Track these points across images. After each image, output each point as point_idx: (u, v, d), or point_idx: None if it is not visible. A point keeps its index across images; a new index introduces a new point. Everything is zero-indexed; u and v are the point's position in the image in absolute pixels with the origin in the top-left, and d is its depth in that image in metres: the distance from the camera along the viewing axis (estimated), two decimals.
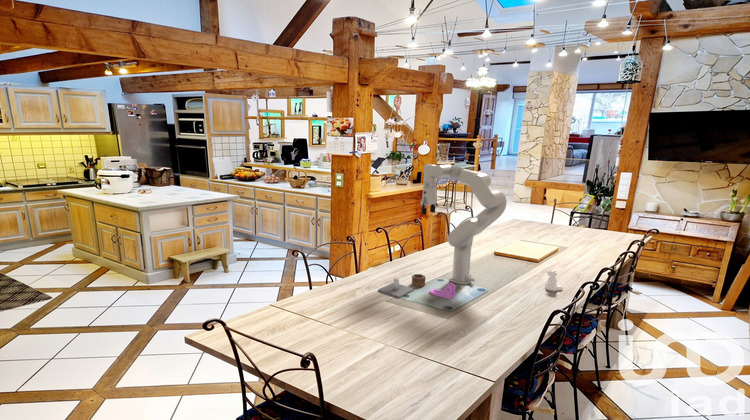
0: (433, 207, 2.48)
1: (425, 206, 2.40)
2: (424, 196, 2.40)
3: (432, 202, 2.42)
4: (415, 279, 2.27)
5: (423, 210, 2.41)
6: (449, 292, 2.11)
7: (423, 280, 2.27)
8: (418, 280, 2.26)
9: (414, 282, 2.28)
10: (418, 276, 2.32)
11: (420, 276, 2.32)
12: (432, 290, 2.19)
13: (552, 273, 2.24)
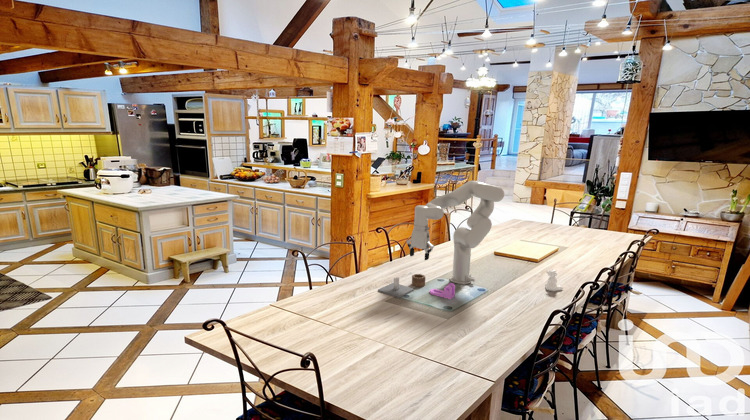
0: (413, 250, 2.30)
1: None
2: (427, 240, 2.22)
3: None
4: (415, 279, 2.27)
5: (428, 255, 2.24)
6: (449, 292, 2.11)
7: (423, 280, 2.27)
8: (418, 280, 2.26)
9: (414, 282, 2.28)
10: (418, 276, 2.32)
11: (420, 276, 2.32)
12: (432, 290, 2.19)
13: (552, 273, 2.24)
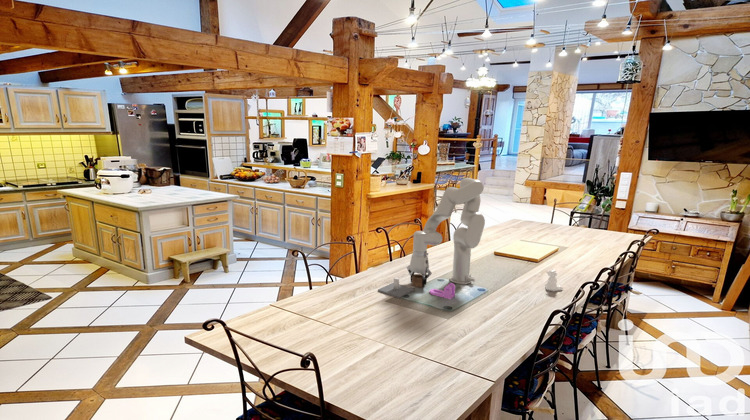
0: None
1: None
2: (426, 266, 2.25)
3: None
4: (415, 279, 2.27)
5: (425, 281, 2.27)
6: (449, 292, 2.11)
7: None
8: (418, 280, 2.26)
9: (414, 282, 2.28)
10: (418, 276, 2.32)
11: (420, 276, 2.32)
12: (432, 290, 2.19)
13: (552, 273, 2.24)
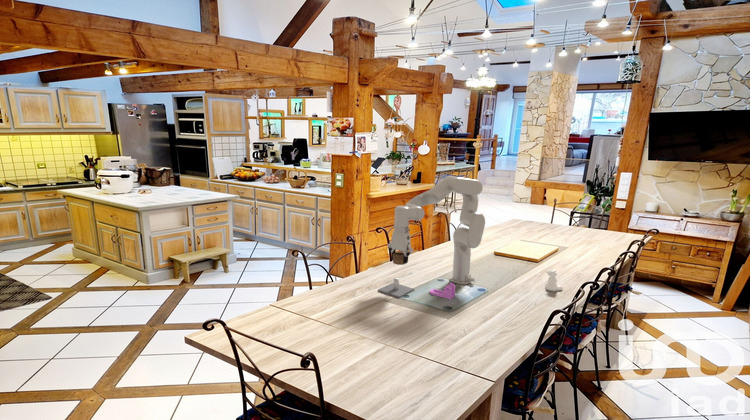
0: None
1: None
2: (408, 243, 2.14)
3: None
4: (396, 256, 2.15)
5: (407, 258, 2.15)
6: (449, 292, 2.11)
7: None
8: (399, 258, 2.15)
9: (395, 260, 2.16)
10: (399, 254, 2.21)
11: (402, 254, 2.20)
12: (432, 290, 2.19)
13: (552, 273, 2.24)
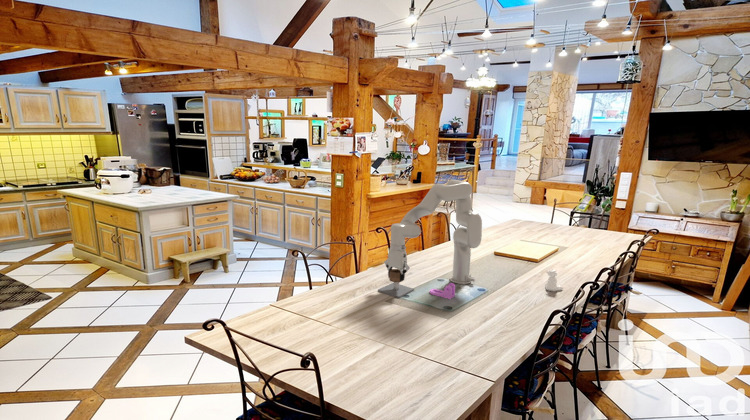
0: None
1: None
2: (404, 261, 2.14)
3: None
4: (392, 274, 2.16)
5: (403, 276, 2.16)
6: (449, 292, 2.11)
7: None
8: (395, 275, 2.15)
9: (391, 277, 2.17)
10: (396, 271, 2.21)
11: (398, 271, 2.21)
12: (432, 290, 2.19)
13: (552, 273, 2.24)
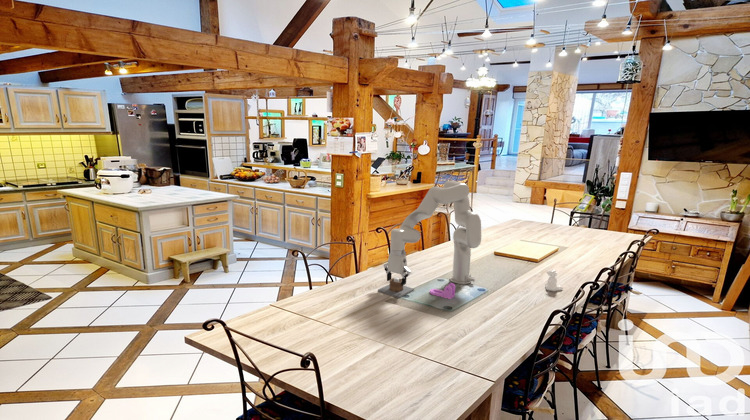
0: (390, 274, 2.23)
1: None
2: (404, 265, 2.15)
3: None
4: (392, 283, 2.17)
5: (405, 280, 2.16)
6: (449, 292, 2.11)
7: (401, 284, 2.17)
8: (395, 285, 2.16)
9: (391, 287, 2.18)
10: None
11: None
12: (432, 290, 2.19)
13: (552, 273, 2.24)
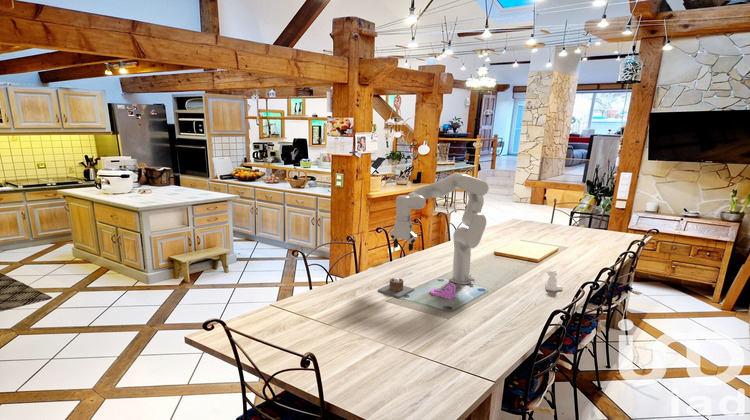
0: (397, 241, 2.26)
1: None
2: (410, 231, 2.18)
3: None
4: (392, 283, 2.17)
5: (412, 245, 2.20)
6: (449, 292, 2.11)
7: (401, 284, 2.17)
8: (395, 285, 2.16)
9: (391, 287, 2.18)
10: None
11: None
12: (432, 290, 2.19)
13: (552, 273, 2.24)
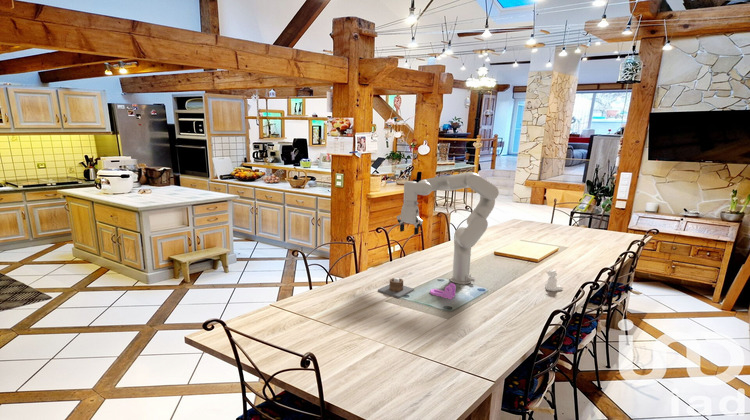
0: (403, 225, 2.35)
1: None
2: (416, 215, 2.27)
3: None
4: (392, 283, 2.17)
5: (417, 230, 2.28)
6: (450, 292, 2.11)
7: (401, 284, 2.17)
8: (395, 285, 2.16)
9: (391, 287, 2.18)
10: None
11: None
12: (432, 290, 2.19)
13: (552, 273, 2.24)
